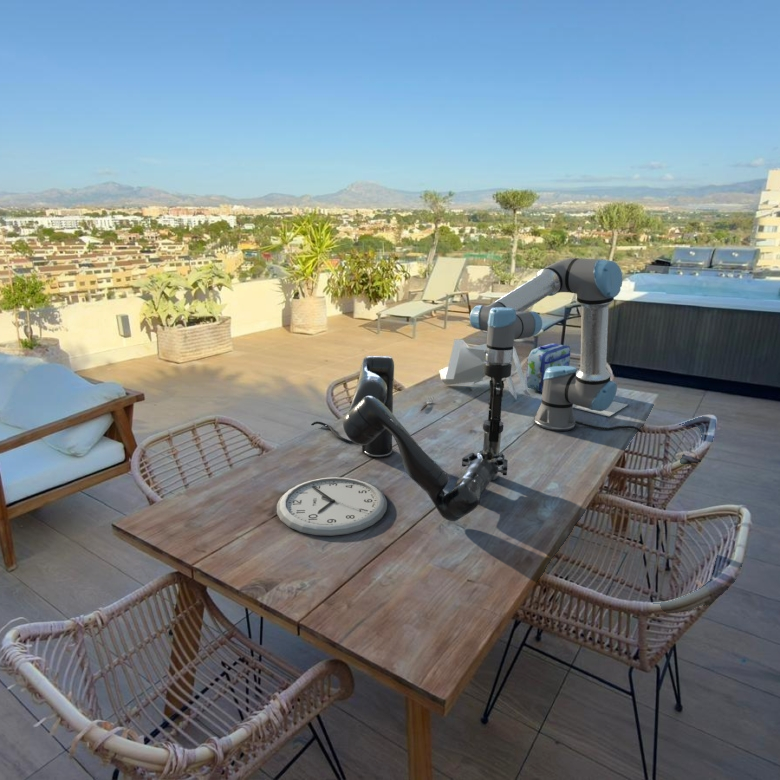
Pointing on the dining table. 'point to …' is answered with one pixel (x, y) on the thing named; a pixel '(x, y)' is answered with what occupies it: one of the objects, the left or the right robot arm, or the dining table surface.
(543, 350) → the lunch box
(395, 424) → the left robot arm
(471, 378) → the white plastic object
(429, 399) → the fork
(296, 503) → the wall clock
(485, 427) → the lid
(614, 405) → the invitation card
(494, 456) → the thermos
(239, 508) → the dining table surface
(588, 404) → the right robot arm
